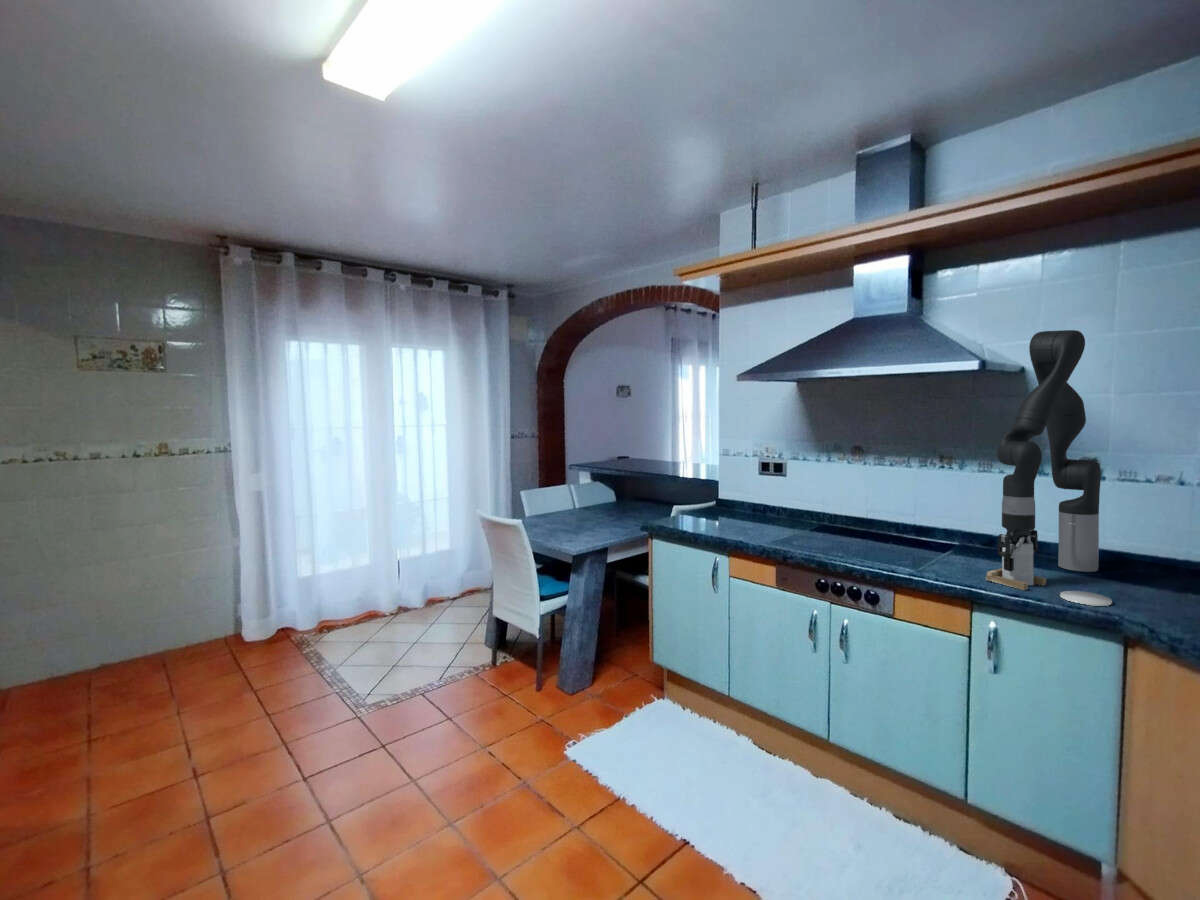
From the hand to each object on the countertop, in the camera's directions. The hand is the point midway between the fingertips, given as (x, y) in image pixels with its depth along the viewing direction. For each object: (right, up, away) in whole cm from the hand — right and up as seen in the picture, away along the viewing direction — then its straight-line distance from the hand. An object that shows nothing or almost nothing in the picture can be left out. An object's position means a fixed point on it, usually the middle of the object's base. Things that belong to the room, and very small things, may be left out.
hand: (1018, 568), depth 155 cm
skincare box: (0, -5, +1) cm, 5 cm away
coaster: (+7, -5, -14) cm, 16 cm away
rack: (0, -5, +1) cm, 5 cm away
